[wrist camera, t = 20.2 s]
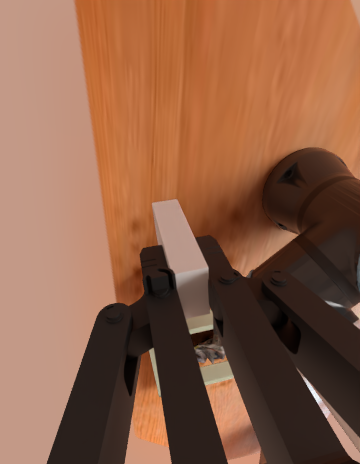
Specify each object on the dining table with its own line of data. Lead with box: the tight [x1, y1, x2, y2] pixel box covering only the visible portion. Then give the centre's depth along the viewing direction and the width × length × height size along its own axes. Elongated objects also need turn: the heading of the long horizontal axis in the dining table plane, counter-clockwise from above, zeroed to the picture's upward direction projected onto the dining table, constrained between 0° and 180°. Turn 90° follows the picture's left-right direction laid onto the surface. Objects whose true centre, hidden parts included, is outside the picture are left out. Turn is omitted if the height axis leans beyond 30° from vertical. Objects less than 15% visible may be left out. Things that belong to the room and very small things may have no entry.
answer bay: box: [149, 310, 234, 397], centre depth 68 cm, size 19×22×4 cm
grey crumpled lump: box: [194, 331, 226, 364], centre depth 66 cm, size 12×11×15 cm
